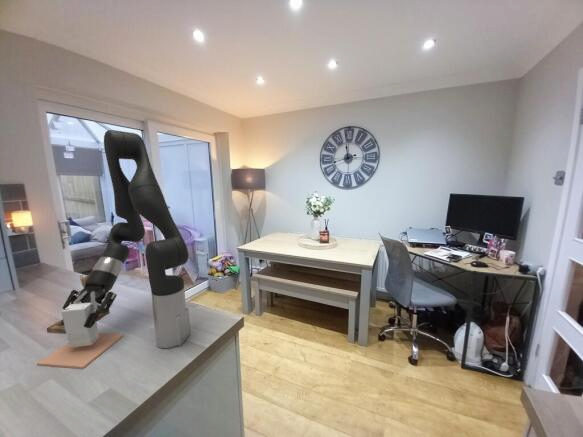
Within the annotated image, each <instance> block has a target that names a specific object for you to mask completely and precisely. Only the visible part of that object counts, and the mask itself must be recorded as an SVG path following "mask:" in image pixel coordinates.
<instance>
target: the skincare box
mask: <svg viewBox="0 0 583 437" xmlns="http://www.w3.org/2000/svg"><path fill="white" fill-rule="evenodd" d="M79 303H80V304H71V303H70V304H71V305H70V304H69V306H68V307H67V308H65V309H63V310H61V311H60V312H61V317H62V319H63V321H64V326H65V331H66V333H65V335H66V339H67V343H68V345H69V347H78V346H87V345H92V344H93V343H94V342H95V341H96V340H97V339H98V338H99V333H100V332H99V329H98V324H97V322H98V321H96V322H95V324H94V325H93V326H92V327H91V328H86V327H84V324H85V322H86V320H87V318H88V317H89V315H90V313H92V306H91V303H81V302H79Z"/></svg>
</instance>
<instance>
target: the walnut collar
mask: <svg viewBox="0 0 583 437" xmlns="http://www.w3.org/2000/svg"><path fill="white" fill-rule="evenodd" d="M109 314H110V309H109V310H108V312H107V313H102V314H100V315H99V316H98V318H97V320H96V322H98V321H99V320H101V319H102V318H104V317H105V316H106V317H107V315H109ZM62 320H63V318H62V319H61V320H59V321H57V322H55V323H53V324H52V325H50V326H48V327H46V332H47V333H52V334H54V333H55V334H66V331H65V326H61V321H62Z"/></svg>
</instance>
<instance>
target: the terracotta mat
mask: <svg viewBox="0 0 583 437" xmlns="http://www.w3.org/2000/svg"><path fill="white" fill-rule="evenodd" d="M98 333H99V338H98V339H97V340H96V341H95V342H94V343H93V344H92V345H87V346H78V347H69V345H68V342H67V343H66V344H64V345H62V346H61V347H60V348H58V349H57V350H55V351H54V352H52V353H51V354H49V355H48V356H46V357H45V358H43V359H42V360H40V361H39V362H37V363H36V365H37V366H41V367H56V368H69V369H80V370H81V369H82V370H84V369H85V368H86V367H87V366H89V365H90V364H91V363H92V362H94V361H95V360H96V359H97V358H99V357H101V355H102V354H104V353H105V352H106V351H108V350H109V349H110V348H111V347H112V346H113V345H115V344H116V343H117V342H118V341H119V340H121V339H122V338H123V337H124V336H125V335H124V333H109V332H108V333H107V332H105V333H104V332H98Z"/></svg>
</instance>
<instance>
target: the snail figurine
mask: <svg viewBox="0 0 583 437" xmlns="http://www.w3.org/2000/svg"><path fill="white" fill-rule="evenodd" d="M89 275H90V274H89ZM89 275H85V276H84V275H82V274H81V275H79V278H80V279H79V280H80V283H81V286H82V287H83V288H84V287H85V281H86V280H87V278H88V276H89Z"/></svg>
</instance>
